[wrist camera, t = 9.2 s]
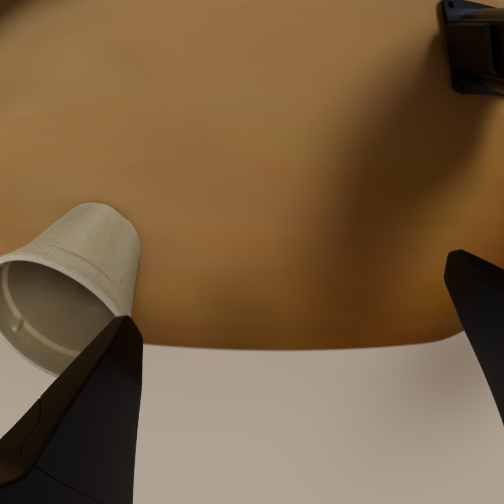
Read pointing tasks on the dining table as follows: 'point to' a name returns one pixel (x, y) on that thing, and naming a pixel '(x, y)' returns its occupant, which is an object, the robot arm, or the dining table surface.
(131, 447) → the robot arm
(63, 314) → the flower pot
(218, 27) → the dining table surface
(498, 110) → the dining table surface
